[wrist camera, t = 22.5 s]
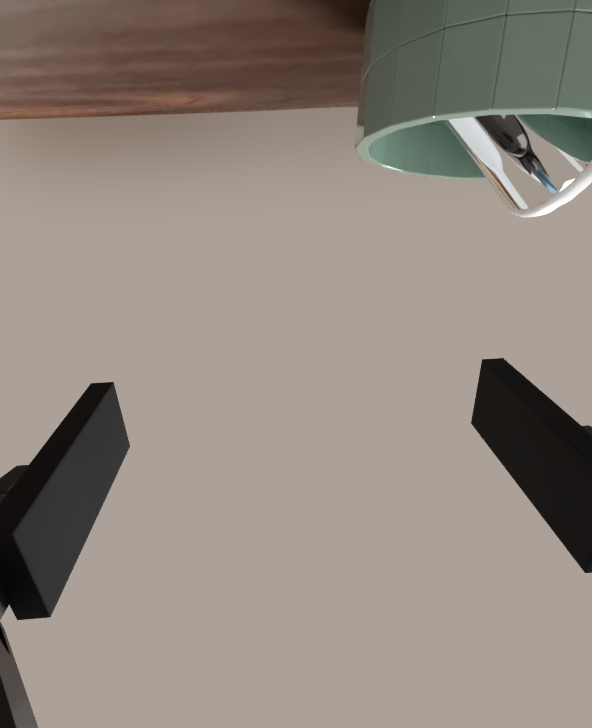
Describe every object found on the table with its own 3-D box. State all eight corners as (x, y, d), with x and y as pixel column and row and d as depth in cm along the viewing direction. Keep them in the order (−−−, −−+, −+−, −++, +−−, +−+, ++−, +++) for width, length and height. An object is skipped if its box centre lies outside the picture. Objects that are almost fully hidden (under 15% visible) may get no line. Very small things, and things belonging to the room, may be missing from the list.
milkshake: (391, 93, 22) (511, 222, 25) (411, 94, 17) (555, 251, 20) (463, 2, 20) (584, 155, 23) (508, -23, 15) (650, 172, 18)
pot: (378, 69, 25) (367, 177, 27) (353, -95, 14) (337, 112, 15) (611, 60, 23) (586, 182, 24) (823, -154, 11) (750, 105, 12)
